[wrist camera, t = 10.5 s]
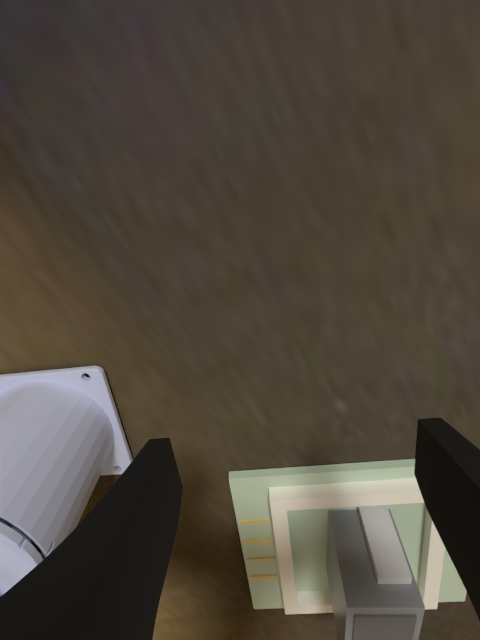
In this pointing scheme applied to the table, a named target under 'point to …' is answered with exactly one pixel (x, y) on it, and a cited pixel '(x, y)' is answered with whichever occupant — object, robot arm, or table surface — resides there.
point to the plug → (371, 577)
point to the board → (312, 528)
